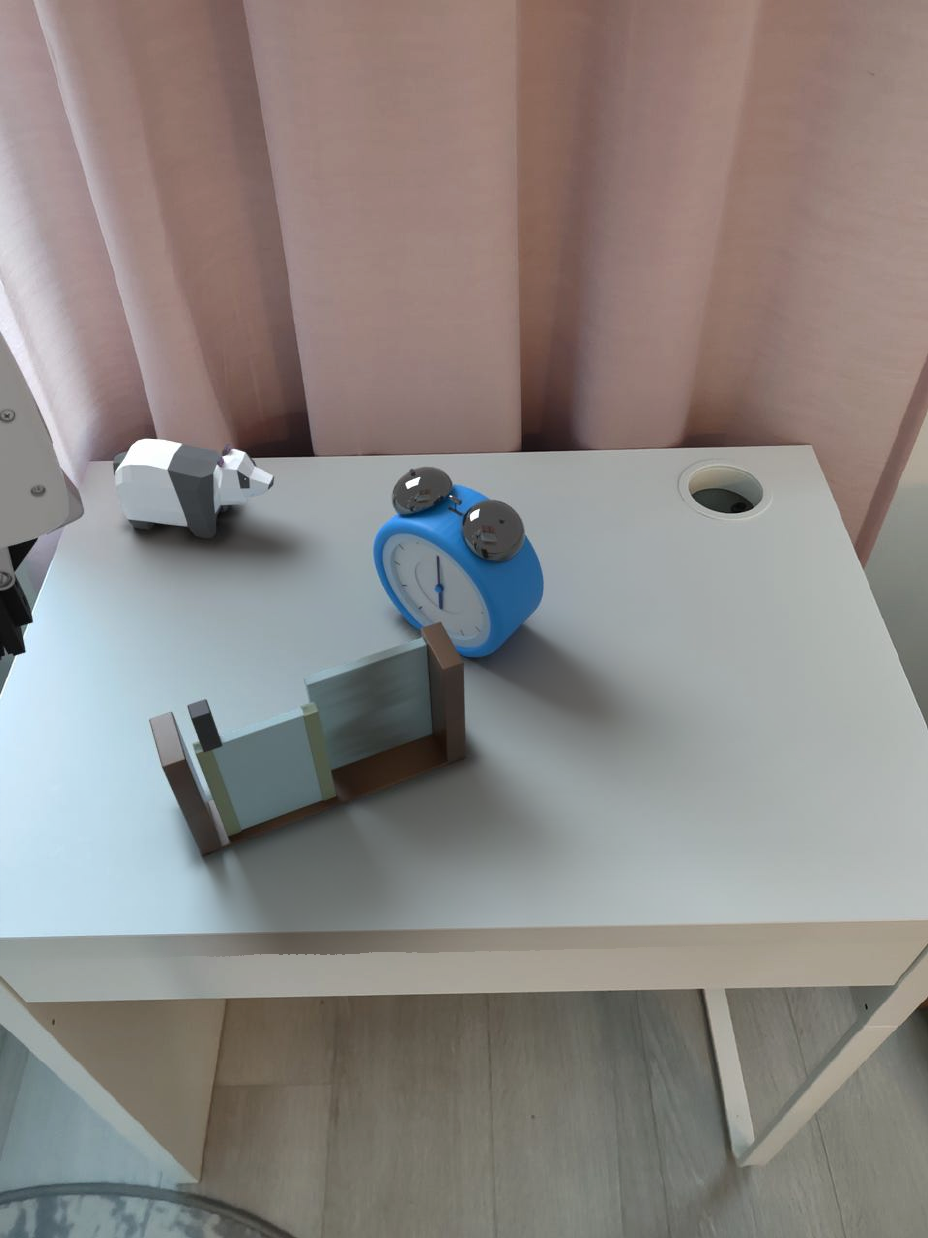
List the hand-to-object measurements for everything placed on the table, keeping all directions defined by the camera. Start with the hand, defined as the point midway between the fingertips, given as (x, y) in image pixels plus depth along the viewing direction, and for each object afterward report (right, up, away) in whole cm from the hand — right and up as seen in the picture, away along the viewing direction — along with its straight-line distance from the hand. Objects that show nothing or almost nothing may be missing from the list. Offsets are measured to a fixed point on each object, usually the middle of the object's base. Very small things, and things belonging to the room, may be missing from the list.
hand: (4, 636), depth 46 cm
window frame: (+12, -12, +27) cm, 32 cm away
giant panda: (-3, +9, +47) cm, 48 cm away
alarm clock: (+21, 0, +38) cm, 43 cm away
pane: (+8, -13, +25) cm, 29 cm away
